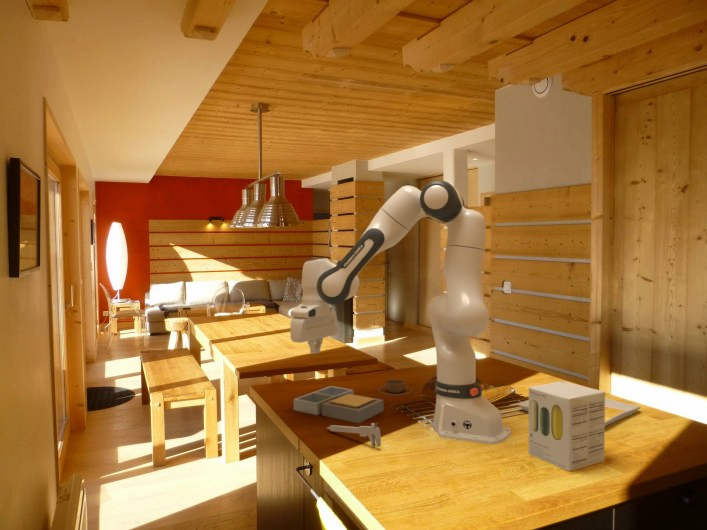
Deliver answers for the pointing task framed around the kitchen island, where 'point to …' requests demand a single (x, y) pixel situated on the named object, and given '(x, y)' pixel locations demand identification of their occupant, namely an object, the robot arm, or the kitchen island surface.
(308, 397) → the tray
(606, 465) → the kitchen island surface
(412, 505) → the kitchen island surface
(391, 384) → the place setting
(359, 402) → the button
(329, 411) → the square frame
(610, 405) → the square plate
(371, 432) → the caliper
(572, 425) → the supplement box
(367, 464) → the kitchen island surface
